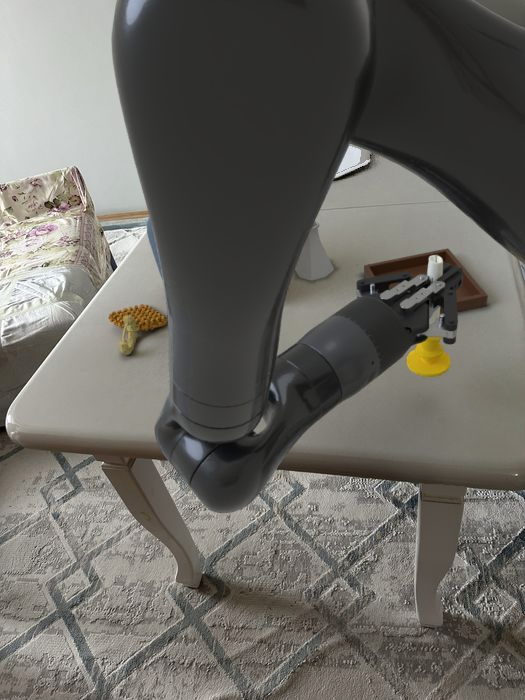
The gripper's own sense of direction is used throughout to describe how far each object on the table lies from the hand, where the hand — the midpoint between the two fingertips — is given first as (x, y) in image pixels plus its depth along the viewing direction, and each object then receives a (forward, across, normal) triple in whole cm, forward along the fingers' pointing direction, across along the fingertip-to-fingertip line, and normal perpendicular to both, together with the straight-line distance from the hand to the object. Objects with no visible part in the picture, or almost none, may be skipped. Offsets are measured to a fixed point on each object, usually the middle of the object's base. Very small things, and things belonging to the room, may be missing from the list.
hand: (454, 272), depth 58 cm
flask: (+12, +37, +20) cm, 44 cm away
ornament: (-21, +48, +20) cm, 56 cm away
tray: (+18, +17, +20) cm, 32 cm away
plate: (+50, +74, +20) cm, 91 cm away
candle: (-3, 0, +12) cm, 13 cm away
